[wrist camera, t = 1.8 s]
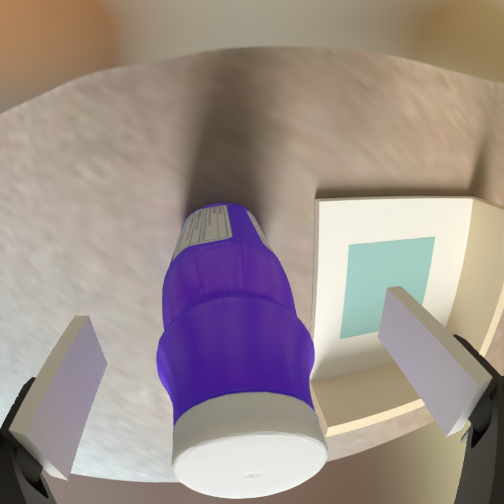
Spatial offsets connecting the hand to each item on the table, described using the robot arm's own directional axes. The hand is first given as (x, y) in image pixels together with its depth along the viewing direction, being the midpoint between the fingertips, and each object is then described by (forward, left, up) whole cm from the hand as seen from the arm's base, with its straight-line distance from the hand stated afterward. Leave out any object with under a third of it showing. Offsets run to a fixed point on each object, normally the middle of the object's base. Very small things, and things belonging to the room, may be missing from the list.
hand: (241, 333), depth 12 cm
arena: (+16, -6, -11) cm, 20 cm away
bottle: (0, 0, -11) cm, 11 cm away
